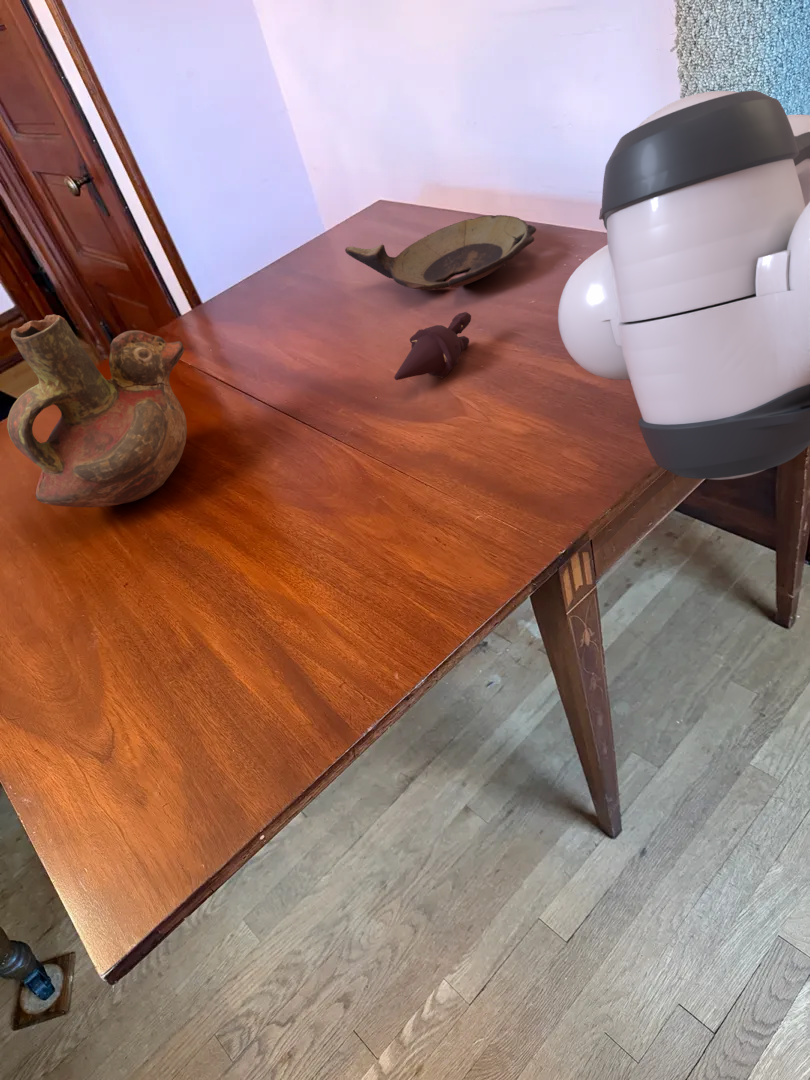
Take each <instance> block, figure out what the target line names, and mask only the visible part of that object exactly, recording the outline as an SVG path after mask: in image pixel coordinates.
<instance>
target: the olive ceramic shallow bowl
mask: <svg viewBox="0 0 810 1080" xmlns="http://www.w3.org/2000/svg"><path fill="white" fill-rule="evenodd" d="M536 231H537V227H536V226H534V225H531V224H528V223H527V221H525V220H523V219H521V218H519V217H515V216H513V215H505V214H504V215H503V214H497V215H491V214H490V215H482V216H478V217H476V218H468V219H464V220H462V221H459V222H456V223H453V224H450V225H446V226H444V227H442V228H440V229H437V230H435V231H434V232H431V233H430V234H427V235H425V236H424V237H422V238H420V239H419V240H417V241H414V242H413V243H411V244H410V245H408V246H407V247H406V248H405V249H403V250H402V251H401V252H400V253H399V254H397V256H394V257H393V256H390V255H388V253H387V250H386V248H385V245H384V244H383V243H382V244H380V245H378V246H376V247H373V248H361V247H355V246H347V247H345V249H344V251H345V254H346V255H348V256H349V257H351V258H353V259H354V260H356V261H358V262H360V263H362V264H364V265H365V266H367V267H369V268H371V269H372V270H374V271H376V272H378V273H379V274H381V275H383V276H385V277H386V278H389V279H393V281H394V282H395V283H396V284H398V285H400V286H401V287H405V288H410V289H414V290H415V289H416V290H440V289H445V288H453V289H455V288H458V287H462V286H465V285H469V284H471V283H474V282H476V281H478V280H481V279H483V278H485V277H487V276H489V275H490V274H492V273H494V272H495V271H497V270H498V269H500V268H502V266H504V265H505V264H507V263H508V262H509V261H511V260H512V259H513V258H515V257H516V256H517V255H519V253H520V252H521V251H522V250H524V249H525V248H526V247H527V246H529V245H531V244H533V242H534V241H535V237H534V236H533V235H534V234H535V233H536ZM466 271H467V272H466ZM462 272H466V273H465V274H463V275H460V276H458V277H453V278H451V279H449V277H451V276H452V275H455V274H459V273H462ZM447 279H449V280H448V281H445V280H447Z"/></svg>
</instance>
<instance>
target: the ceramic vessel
mask: <svg viewBox="0 0 810 1080" xmlns="http://www.w3.org/2000/svg"><path fill="white" fill-rule="evenodd" d="M10 337H11V339H12V341H13V342H14V344H15V346H16V348H17V350H18V351H19V353H20V355H21V356H22V358H23V360H24V361H25V362H26V363H27V365H28V366H29V367H30V369H31V370H32V371H33V372H34V373H35V375H36V376H37V378H38V383H37V384H36V385H34V386H32V387H30V388H28V389H27V390H25V391H24V392H22V394H20V395H19V396H18V398H17V399H16V400H15V401H14V403H13V404H12V405H11V408H10V410H9V412H8V416H7V423H6V430H7V432H8V436H9V438H10V440H11V442H12V443H13V445H14V446H15V447H16V448H17V450H18V451H19V452H20V453H22V455H24V456H25V457H26V458H27V459H29V460H30V461H31V462H32V463H34V464H35V465H36V466H38V467H39V468H40V469H41V472H40V476H39V479H38V482H37V485H36V488H35V498H36V501H38V502H40V503H42V504H46V505H50V506H57V507H66V508H67V507H68V508H103V507H111V506H118V505H122V504H128V503H133V502H136V501H138V500H141V499H143V498H146V497H147V496H149V495H151V494H153V493H154V492H156V491H157V490H158V489H160V488H161V487H162V486H163V485H164V484H165V482H167V480H168V478H169V477H170V476H171V474H172V473H173V471H174V470H175V469H176V467H177V465H178V464H179V463H180V460H181V458H182V456H183V453H184V450H185V446H186V443H187V434H188V425H187V418H186V414H185V411H184V409H183V406H182V404H181V403H180V401H179V399H178V397H177V395H175V393H174V391H173V389H172V386H171V383H170V377H171V372H172V371H173V369H174V368H175V367H176V366H177V364H178V363H179V361H180V360H181V358H182V357H183V355H184V352H185V350H186V348H185V347H184V343H183V342H182V341H177V340H176V341H174V342H173V341H172V342H167V341H166V340H165V339H164V338H163V337H161V336H159V335H153V334H152V333H148V332H146V331H143V330H137V329H136V330H134V329H133V330H127V331H124V332H122V333H120V334H118V335H117V336H116V337H115V338H113V339H112V340H111V343H110V347H109V348H110V350H109V356H108V357H109V358H108V366H109V370H110V371H109V372H110V375H111V378H110V379H106V378H105V377H104V375H103V374H102V373H101V371H100V370H99V369H98V367H97V366H96V364H95V363H94V361H93V360H92V359H91V357H90V355H89V354H88V353H87V351H86V350H85V348H84V346H83V345H82V344H81V342H80V340H79V339H78V337H77V336H76V334H75V332H74V331H73V329H72V327H71V326H70V325H69V323H68V321H67V320H66V319H65V317H63V316H62V315H57V314H47V315H45V317H44V319H41V320H30V321H27V322H25V323H23V325H22V326H20V327H16V328H15V327H13V328H11V332H10ZM53 405H54V406H56V407H57V408H58V409H59V411H60V415H61V416H60V417H59V419H58V420H57V422H56V423H55V426H54V427H53V429H52V431H50V434H49V436H48V438H47V440H46V441H44V442H43V441H42V442H39V441H38V440H37V438H36V437H35V436H34V432H33V427H34V422H35V420H36V418H37V416H39V414H40V413H42V411H44V409H46V408H47V409H48V408H49V407H51V406H53Z"/></svg>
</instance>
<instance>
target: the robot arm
mask: <svg viewBox="0 0 810 1080" xmlns="http://www.w3.org/2000/svg"><path fill="white" fill-rule="evenodd" d="M783 107H784V106H783V105H782V103H781V102H780V100H779V99H777V98H775V97H772V96H770V95H768V94H765V93H763V92H761V91H759V90H744V91H734V90H713V91H704V92H700V93H695V94H692V95H688V96H685V97H682V98H680V99H677V100H675V101H673V102H669V104H667V105H666V104H665V106H663V107H661V108H659V109H658V110H656V111H655V112H653V113H651V114H650V115H649V116H648V117H646V118H645V119H644V120H643V121H641V122H640V123H639V124H638V125H637V126H636V127H635V128H633V129H632V130H630V131H629V132H627V133H625V134H623V136H621V137H620V138H619V139H618V142H617V144H616V146H615V147H614V149H613V150H612V153H611V154H610V157H609V158H608V160H607V162H606V164H605V168H604V174H603V182H602V194H601V195H602V197H601V208H600V210H599V216H598V220H600V221H601V220H602V221H603V226H604V228H605V230H606V237H607V238H606V239H607V244H606V245H604V246H603V247H601V248H600V249H598V250H597V251H595V252H593V254H591V255H590V256H589V257H587V258H586V259H585V260H584V261H583V262H581V264H580V265H578V266H577V268H576V269H575V270H574V271H573V272H572V274H571V275H570V277H569V278H568V279H567V281H566V283H565V285H564V287H563V290H562V292H561V296H560V299H559V303H558V308H557V309H558V311H557V325H558V330H559V334H560V335H559V336H560V338H561V341H562V343H563V345H564V348H565V349H566V351H567V353H568V354H569V356H570V357H571V358H572V359H573V361H574V362H575V363H576V364H578V365H579V366H580V367H581V368H582V369H584V370H585V371H587V372H588V373H589V374H593V375H594V376H596V377H599V378H602V379H607V380H613V381H629V382H630V384H631V388H632V391H633V395H634V398H635V400H636V403H637V406H638V409H639V412H640V415H641V417H640V418H639V419H638V422H637V423H638V426H639V430H640V432H641V434H642V438H643V440H644V442H645V445H646V447H647V449H648V451H649V454H650V455H651V458H653V460H654V462H655V464H656V465H657V466H658V467H660V468H661V469H664V470H666V471H668V472H670V473H672V475H676V476H677V477H680V478H685V479H695V480H697V479H698V480H700V479H701V480H702V479H703V480H716V481H719V480H720V481H721V480H722V481H724V480H735V479H739V478H740V479H741V478H746V477H750V476H753V475H757V474H759V473H762V472H763V471H766V470H769V469H772V468H775V467H778V466H780V465H783V464H785V463H788V462H790V461H791V460H793V459H795V458H796V457H797V456H798V455H800V454H801V453H802V452H803V451H805V450H806V449H807V448H808V447H809V446H810V114H787V113H786V111H785V109H784V108H783Z"/></svg>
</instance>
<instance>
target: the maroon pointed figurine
mask: <svg viewBox="0 0 810 1080" xmlns="http://www.w3.org/2000/svg"><path fill="white" fill-rule="evenodd" d="M471 321H472V314H470V313H469V312H467V311H463V312H460V313H458V314H456V315H455V316H454V317H453V318H452V320H451V322H450V323H449V325H448V327H446V326H444V325H442V324H441V325H440V324H437V325H433V326H429V327H425V328H424V329H418V330H417V331H416V332H415V333H414V334H413V335H412V336H410V338H409V342H410V344H411V347H410V348H411V349H410V351H409V352H408V354H407V356H406V357H405V359H404V361H403V362H402V363H401V365H400V366H399V368H398V370H397V371H396V373H395V375H394V376H393V378H394V380H396V381H400V380H403V379H408V378H412V377H417V376H422V375H423V376H424V375H429V376H433V377H438V378H446V376H448V374H449V373H450V372H451V371H452V369H453V368H454V367H455V366H457V365H458V363H459V358H460V355H461V352H463V351H464V350H465V349H467V347H468V346H469V344H470V338H468V337H467V336H465V335H461V336H458V334H462V333H463V331H464V330H465V329H467V327H468V326H469V324H470V323H471Z"/></svg>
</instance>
